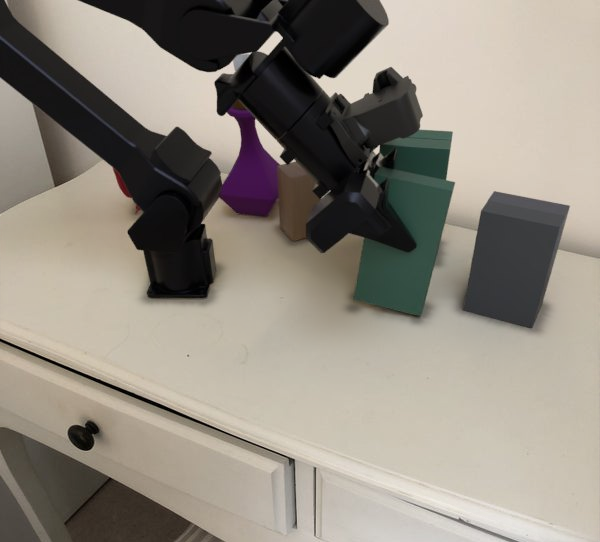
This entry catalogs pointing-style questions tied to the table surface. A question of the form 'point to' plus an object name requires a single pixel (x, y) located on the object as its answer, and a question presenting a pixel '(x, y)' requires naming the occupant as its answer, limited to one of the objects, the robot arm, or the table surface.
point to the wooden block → (295, 199)
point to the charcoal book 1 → (511, 262)
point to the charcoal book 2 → (534, 205)
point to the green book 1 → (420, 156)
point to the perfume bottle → (250, 167)
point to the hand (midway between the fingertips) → (414, 241)
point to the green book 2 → (396, 263)
